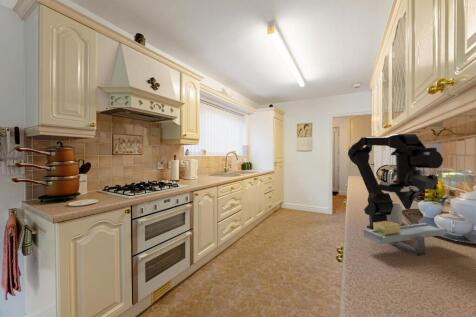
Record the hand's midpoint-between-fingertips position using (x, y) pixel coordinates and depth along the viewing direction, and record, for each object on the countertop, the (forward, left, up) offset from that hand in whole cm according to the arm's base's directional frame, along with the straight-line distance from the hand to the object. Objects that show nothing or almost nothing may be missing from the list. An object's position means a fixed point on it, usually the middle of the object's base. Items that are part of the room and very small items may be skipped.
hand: (407, 209), depth 76 cm
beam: (+5, -7, -7) cm, 11 cm away
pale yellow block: (+5, -14, -6) cm, 16 cm away
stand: (+5, -7, -12) cm, 15 cm away
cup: (-19, +14, -12) cm, 26 cm away
